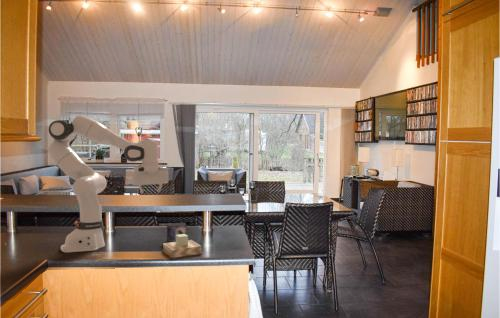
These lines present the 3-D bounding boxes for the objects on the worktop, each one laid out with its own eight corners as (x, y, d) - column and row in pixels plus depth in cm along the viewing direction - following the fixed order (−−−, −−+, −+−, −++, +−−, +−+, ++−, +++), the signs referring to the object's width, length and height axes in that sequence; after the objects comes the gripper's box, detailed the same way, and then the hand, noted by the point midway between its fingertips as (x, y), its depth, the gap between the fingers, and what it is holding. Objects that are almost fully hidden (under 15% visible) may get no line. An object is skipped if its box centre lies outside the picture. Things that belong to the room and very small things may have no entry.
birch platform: (171, 257, 212) (171, 250, 212) (163, 250, 224) (163, 243, 224) (201, 253, 220) (201, 246, 220) (191, 246, 232) (191, 239, 232)
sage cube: (179, 246, 218) (179, 237, 218) (175, 244, 223) (175, 234, 222) (188, 245, 221) (188, 235, 220) (184, 242, 225) (184, 233, 225)
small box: (167, 244, 237) (167, 225, 236) (166, 241, 243) (166, 223, 242) (186, 243, 240) (186, 224, 239) (185, 240, 246) (185, 222, 245)
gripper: (166, 166, 242) (166, 190, 243) (130, 167, 232) (130, 192, 233) (170, 167, 236) (170, 192, 237) (133, 168, 226) (133, 194, 227)
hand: (150, 192), depth 235 cm, fingers open, 8 cm apart
